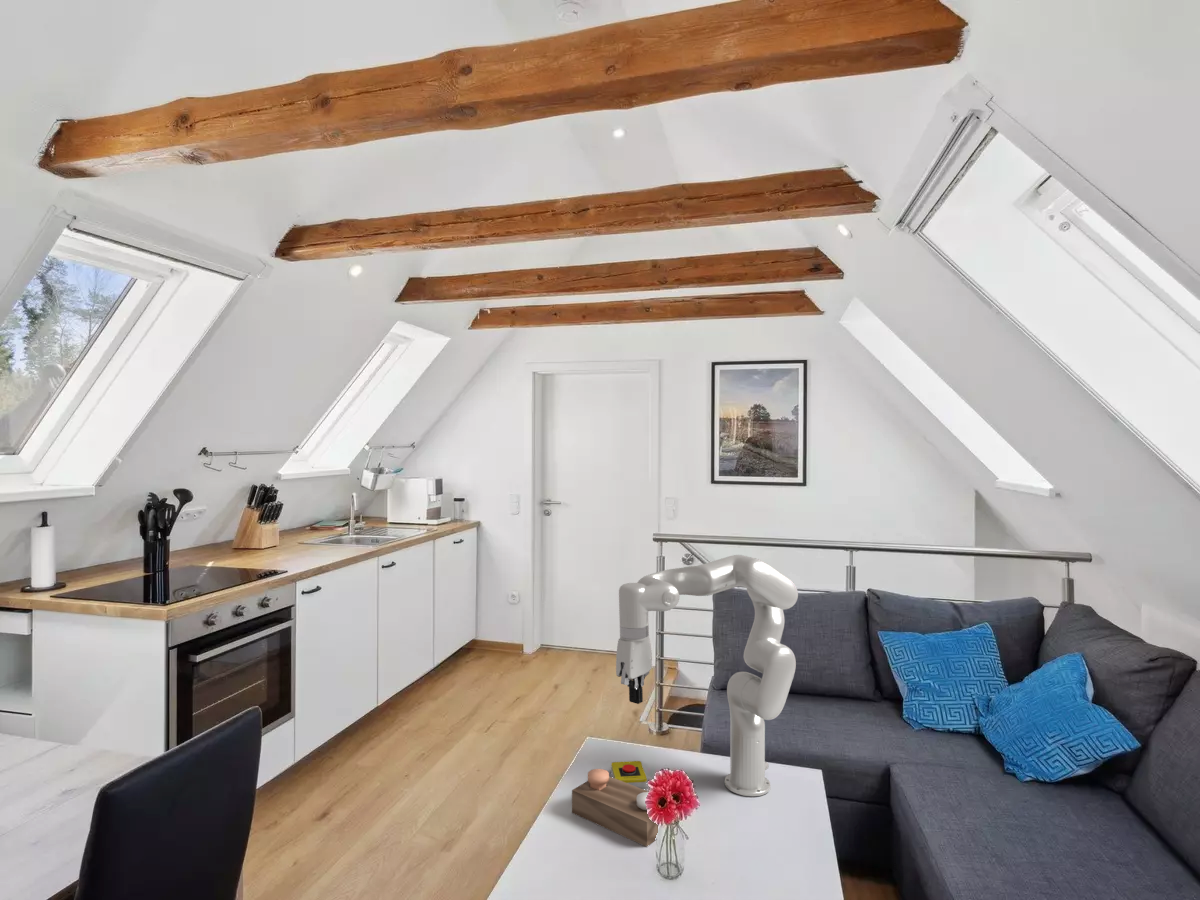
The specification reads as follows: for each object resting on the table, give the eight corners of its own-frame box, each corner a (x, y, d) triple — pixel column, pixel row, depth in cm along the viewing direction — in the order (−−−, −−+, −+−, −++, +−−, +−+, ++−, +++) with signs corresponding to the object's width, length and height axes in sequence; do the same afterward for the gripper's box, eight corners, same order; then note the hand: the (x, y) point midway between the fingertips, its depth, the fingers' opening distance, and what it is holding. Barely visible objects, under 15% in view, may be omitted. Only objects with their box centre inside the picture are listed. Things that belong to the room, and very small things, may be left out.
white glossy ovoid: (645, 819, 173) (645, 789, 173) (663, 827, 169) (663, 797, 169) (632, 829, 169) (632, 798, 169) (650, 837, 165) (650, 806, 165)
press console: (600, 794, 186) (600, 772, 186) (674, 825, 171) (674, 801, 171) (571, 812, 177) (571, 789, 177) (647, 847, 162) (647, 822, 162)
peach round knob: (596, 794, 183) (596, 766, 183) (613, 801, 179) (613, 773, 179) (583, 803, 179) (583, 774, 179) (599, 810, 175) (599, 781, 175)
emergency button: (615, 779, 187) (609, 754, 202) (615, 795, 187) (609, 769, 202) (648, 777, 188) (640, 753, 203) (648, 793, 188) (640, 767, 203)
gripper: (640, 623, 184) (641, 690, 184) (604, 636, 172) (606, 707, 173) (662, 627, 179) (664, 696, 179) (627, 641, 168) (629, 714, 168)
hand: (636, 701), depth 176 cm, fingers closed
